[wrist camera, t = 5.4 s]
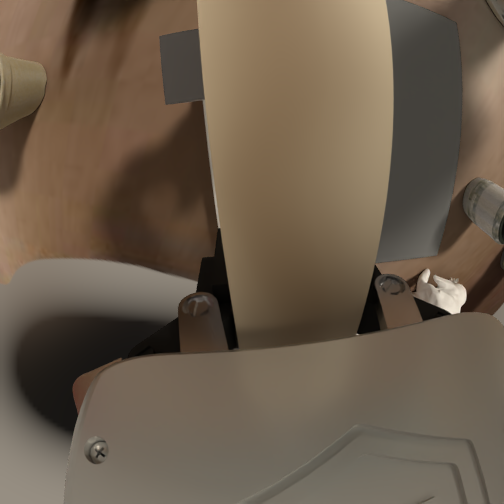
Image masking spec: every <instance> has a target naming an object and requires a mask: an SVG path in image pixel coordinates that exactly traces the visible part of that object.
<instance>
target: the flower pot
mask: <svg viewBox="0 0 504 504" xmlns="http://www.w3.org/2000/svg"><path fill="white" fill-rule="evenodd" d="M46 81H47V77H46V72H45V70H44V68H43V66H42V65H41V64H39V63H38V62H33V61H27V60H22V59H18V58H13V57H7V56H5V55H4V54H2V53H0V130H1V129H3V128H4V127H6V126H8V125H10V124H12V123H14V122H15V121H17V120H19V119H21V118H23V117H25V116H28V115H30V114H31V113H33V112H34V111H35V110H36V109H37V107H38V106H39V105H40V103H41V101H42V99H43V97H44V94H45V85H46Z"/></svg>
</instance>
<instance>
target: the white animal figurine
mask: <svg viewBox="0 0 504 504" xmlns="http://www.w3.org/2000/svg"><path fill="white" fill-rule="evenodd" d="M429 276H430V270H429V269H425V270H424V271H423V272H422V273H421V275H420V276H419V278H418V282H417V288H416V291H417V292H412V295H413V296H414V297H416V298H418V299H421V300H423V301H426V302H428V303H430V304H433V305H435V306H437V307H440V308H442V309H444V310H446V311H448V312H450V313H451V314H456V313H460V309H461V306H462V305H463V304H464V303H465V301H466V290H465V288H464V287H463V286H462V285H461V284H457V282H458V281H457V279H456V280H455V281H454V280H453V281H452V278H451V281H450V279H449V280H447V279H443V278H441V277H438V276H436V275H434V281H435V282H436V283H437V284H438V287H437V288H435V287H434V286H433V285H431V284H429V283H427V282H428V279H429ZM454 279H455V278H454ZM456 281H457V282H456Z"/></svg>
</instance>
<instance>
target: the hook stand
mask: <svg viewBox="0 0 504 504" xmlns="http://www.w3.org/2000/svg"><path fill="white" fill-rule="evenodd" d="M159 38H160V53H161V65H162V76H163V86H164V95H165V103H166V105H168V104H176V103H186V102H193V101H200V100H203V108H204V117H205V127H206V136H207V144H208V153H209V161H210V169H211V177H212V185H213V193H214V200H215V208H216V215H217V222H218V228H220V222H219V214H218V207H217V199H216V192H215V184H214V176H213V168H212V159H211V151H210V142H209V133H208V124H207V115H206V105H205V95H204V85H203V74H202V63H201V51H200V38H199V30H198V29H194V30H188V31H182V32H177V33H172V34H167V35H163V36H159ZM238 349H239V344H238V348H234V349H233V350H238Z"/></svg>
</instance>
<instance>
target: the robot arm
mask: <svg viewBox="0 0 504 504" xmlns="http://www.w3.org/2000/svg"><path fill="white" fill-rule="evenodd" d="M486 1H487V3H488V4H489V6H490V8H491V9H492V11H493V12H494V14H495V15H496V17H497V18H498V19H499V21H500V22H501V23H502V25H503V26H504V0H486ZM357 334H359V335H354V336H348V337H342V338H336V339H329V340H322V341H315V342H308V343H300V344H292V345H283V346H274V347H263V348H252V349H238V350H233V349H234V348H238V338H237V332H236V326H235V321H234V314H233V308H232V302H231V296H230V290H229V283H228V277H227V270H226V263H225V257H224V250H223V243H222V236H221V229H220V228H218V232H217V240H216V248H215V256H214V257H204V258H202V262H201V267H200V273H199V278H198V284H197V290H196V293H193V294H190V295H188V296H186V297H185V298H184V299H182V300H181V302H180V304H179V307H178V318H176V319H175V320H173V321H172V322H170V323H169V324H167V325H166V326H164V327H163V328H161V329H160V330H158V331H157V332H156V333H154V334H153V335H151V336H150V337H148V338H147V339H145V340H144V341H142V342H141V343H139V344H138V345H136V346H135V347H134V348H133V349H132V350H131V352H130V353H129V355H128V358H127V359H125V360H122V358H119V359H117V360H115V361H113V362H110V363H108V364H106V365H104V366H102V367H99V368H97V369H95V370H93V371H90V372H88V373H86V374H83V375H82V376H80V377H79V378H78V379H77V380H76V381H75V382H74V385H73V395H74V399H75V403H76V407H77V411H78V415H79V416H78V419H77V423H76V426H75V430H74V434H73V439H72V444H71V449H70V454H69V460H68V466H67V473H66V480H65V492H64V504H504V326H503V325H502V324H501V322H500V321H499V320H497V319H496V318H495V317H493V316H491V315H489V314H485V313H478V312H463V313H456V314H451V313H450V312H448V311H446V310H444V309H442V308H440V307H437V306H435V305H433V304H430V303H428V302H426V301H423V300H421V299H418V298H416V297H414V296H413V295H412V293H411V290H410V288H409V286H408V284H407V282H406V281H405V280H404V279H402V278H401V277H399V276H396V275H393V274H383V275H382V274H381V273H380V271H379V270H378V268H377V267H376V265H375V266H374V270H373V275H372V279H371V283H370V287H369V291H368V295H367V299H366V303H365V306H364V310H363V314H362V317H361V321H360V324H359V327H358V331H357Z"/></svg>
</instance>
